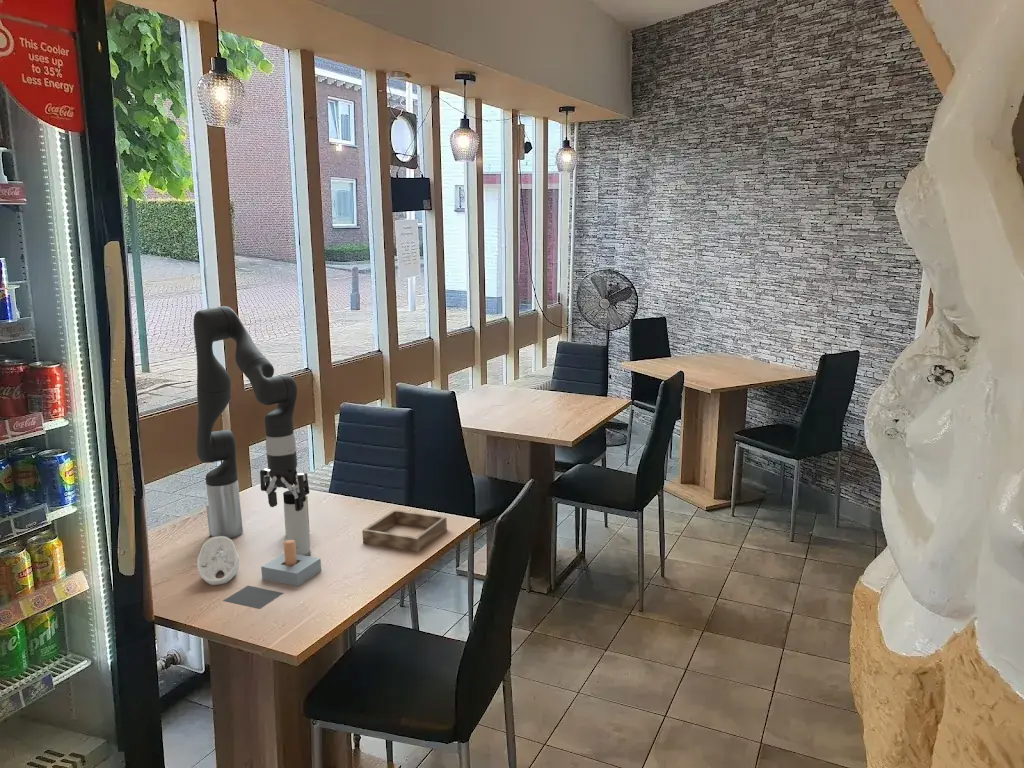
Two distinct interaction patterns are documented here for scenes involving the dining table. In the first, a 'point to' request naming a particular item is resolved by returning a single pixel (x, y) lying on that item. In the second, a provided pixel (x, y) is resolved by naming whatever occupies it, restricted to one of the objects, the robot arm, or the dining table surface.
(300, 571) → the block
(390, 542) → the square wooden frame
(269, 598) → the mat
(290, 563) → the peg
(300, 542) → the travel mug
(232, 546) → the skull bowl
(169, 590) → the dining table surface
